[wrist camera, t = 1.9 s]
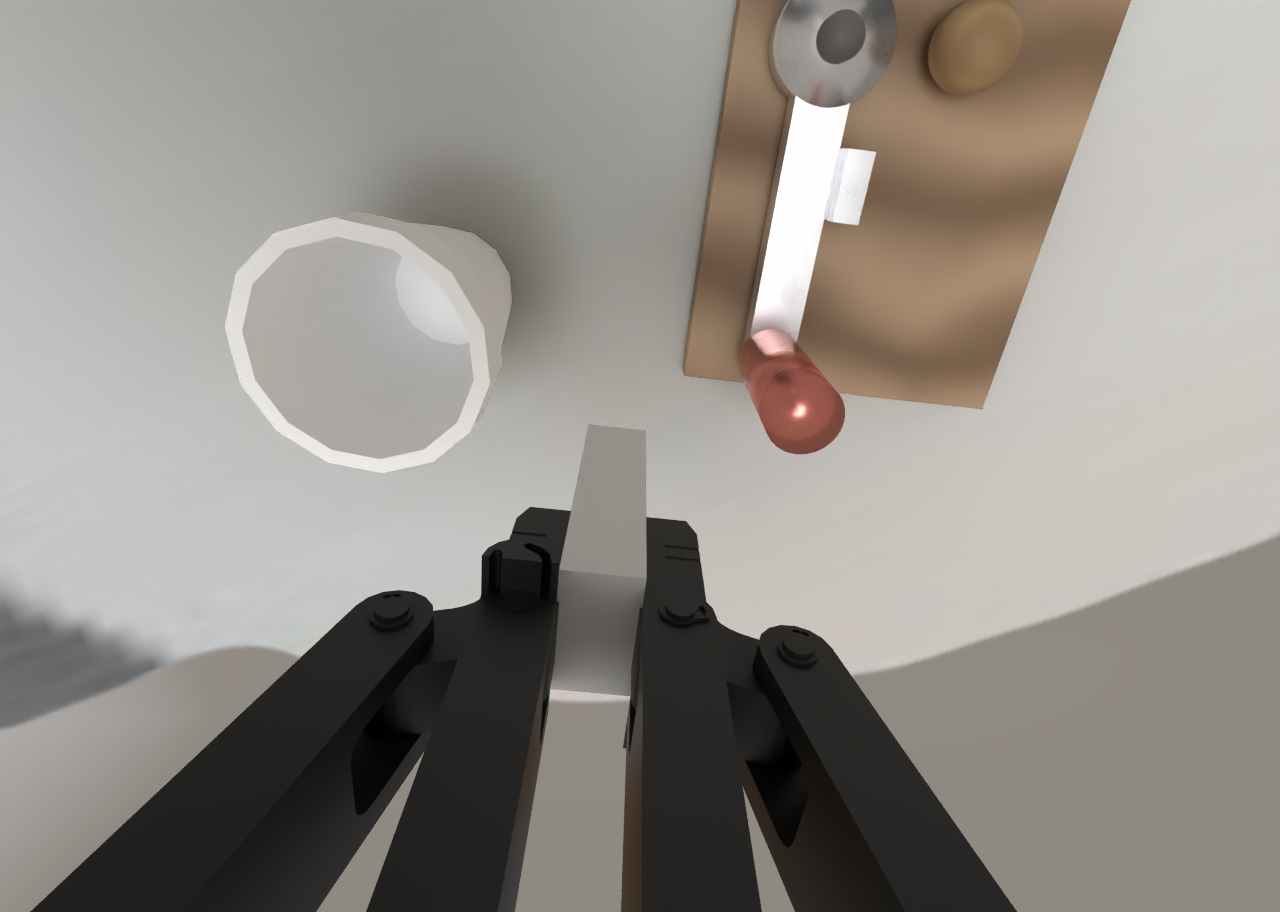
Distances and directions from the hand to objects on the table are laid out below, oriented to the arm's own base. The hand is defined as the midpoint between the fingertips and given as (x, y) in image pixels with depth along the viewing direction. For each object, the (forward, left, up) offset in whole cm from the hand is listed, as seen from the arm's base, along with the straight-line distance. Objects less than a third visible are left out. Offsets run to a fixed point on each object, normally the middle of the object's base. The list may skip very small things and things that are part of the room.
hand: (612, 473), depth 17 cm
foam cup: (0, -10, -20) cm, 22 cm away
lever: (-7, +7, -18) cm, 21 cm away
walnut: (-14, +13, -17) cm, 25 cm away
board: (-8, +12, -20) cm, 25 cm away
